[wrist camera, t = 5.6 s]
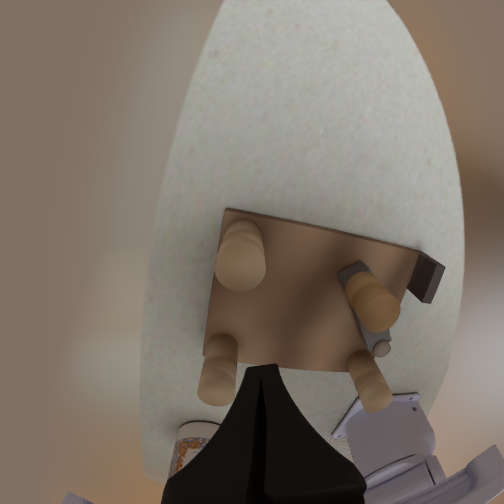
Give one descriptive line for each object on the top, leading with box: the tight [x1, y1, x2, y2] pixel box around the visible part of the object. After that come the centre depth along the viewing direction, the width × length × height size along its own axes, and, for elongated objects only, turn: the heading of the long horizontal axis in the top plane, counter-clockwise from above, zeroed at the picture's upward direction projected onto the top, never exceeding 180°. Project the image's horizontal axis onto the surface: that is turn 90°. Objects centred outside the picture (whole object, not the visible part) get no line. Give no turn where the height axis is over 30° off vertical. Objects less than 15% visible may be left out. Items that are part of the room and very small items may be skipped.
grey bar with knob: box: [337, 261, 400, 357], centre depth 17 cm, size 8×2×5 cm, turn 28°
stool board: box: [197, 208, 445, 413], centre depth 17 cm, size 16×12×6 cm
